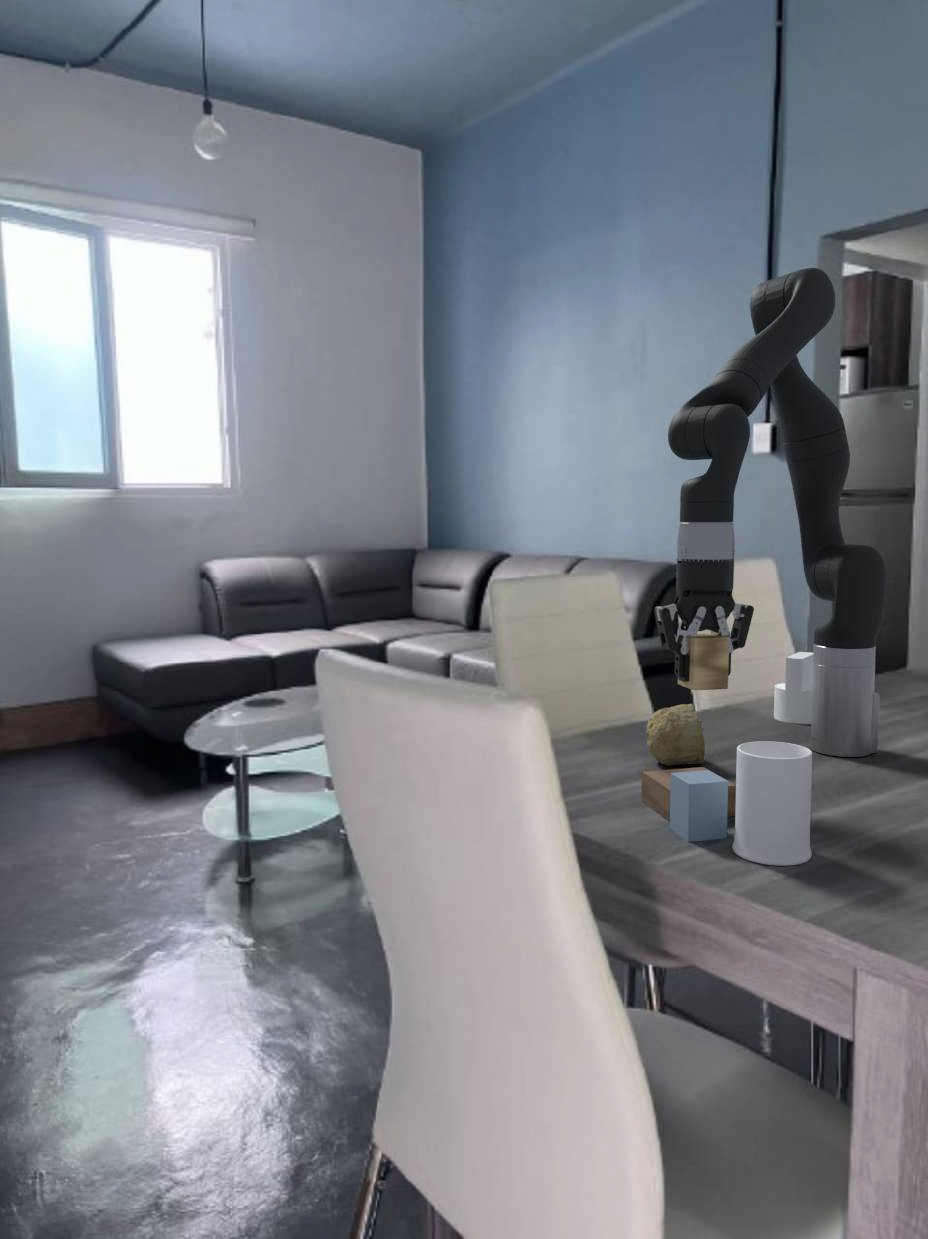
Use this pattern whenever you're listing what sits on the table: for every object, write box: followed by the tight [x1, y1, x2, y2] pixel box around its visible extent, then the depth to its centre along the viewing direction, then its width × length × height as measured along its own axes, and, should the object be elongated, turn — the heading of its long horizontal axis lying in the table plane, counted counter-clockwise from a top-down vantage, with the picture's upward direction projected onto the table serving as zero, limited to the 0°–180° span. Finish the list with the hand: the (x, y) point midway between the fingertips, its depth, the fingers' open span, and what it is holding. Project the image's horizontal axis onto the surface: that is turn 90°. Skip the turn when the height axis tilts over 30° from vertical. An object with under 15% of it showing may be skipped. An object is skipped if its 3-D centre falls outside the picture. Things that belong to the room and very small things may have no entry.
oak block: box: [677, 632, 729, 691], centre depth 127 cm, size 5×5×7 cm
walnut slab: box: [641, 766, 736, 822], centre depth 121 cm, size 9×9×4 cm
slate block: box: [669, 769, 729, 843], centre depth 112 cm, size 5×5×7 cm
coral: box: [645, 703, 706, 767], centre depth 143 cm, size 10×10×10 cm
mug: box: [731, 740, 813, 867], centre depth 106 cm, size 12×8×12 cm
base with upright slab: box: [773, 651, 813, 725], centre depth 173 cm, size 9×9×12 cm
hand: (702, 679), depth 127 cm, fingers closed on oak block, 5 cm apart
